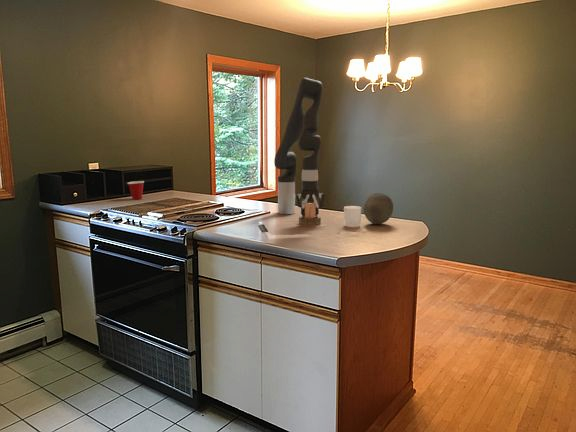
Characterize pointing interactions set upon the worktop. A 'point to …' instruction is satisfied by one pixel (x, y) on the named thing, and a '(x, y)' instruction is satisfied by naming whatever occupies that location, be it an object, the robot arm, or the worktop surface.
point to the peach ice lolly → (310, 211)
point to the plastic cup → (136, 189)
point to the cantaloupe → (378, 208)
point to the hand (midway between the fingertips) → (309, 215)
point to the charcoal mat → (263, 228)
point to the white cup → (352, 216)
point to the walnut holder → (309, 222)
